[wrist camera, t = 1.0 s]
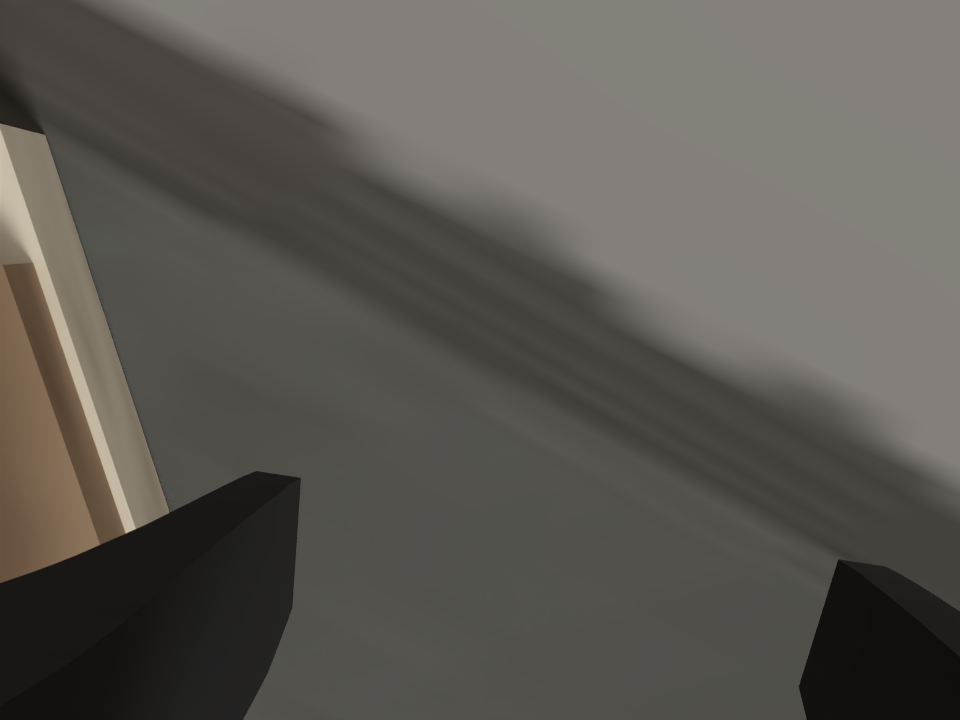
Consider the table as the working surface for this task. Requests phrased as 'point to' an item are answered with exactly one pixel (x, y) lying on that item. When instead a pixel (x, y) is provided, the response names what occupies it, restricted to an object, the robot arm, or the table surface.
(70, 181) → the table surface
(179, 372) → the table surface
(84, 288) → the beige flat block
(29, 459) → the tile
